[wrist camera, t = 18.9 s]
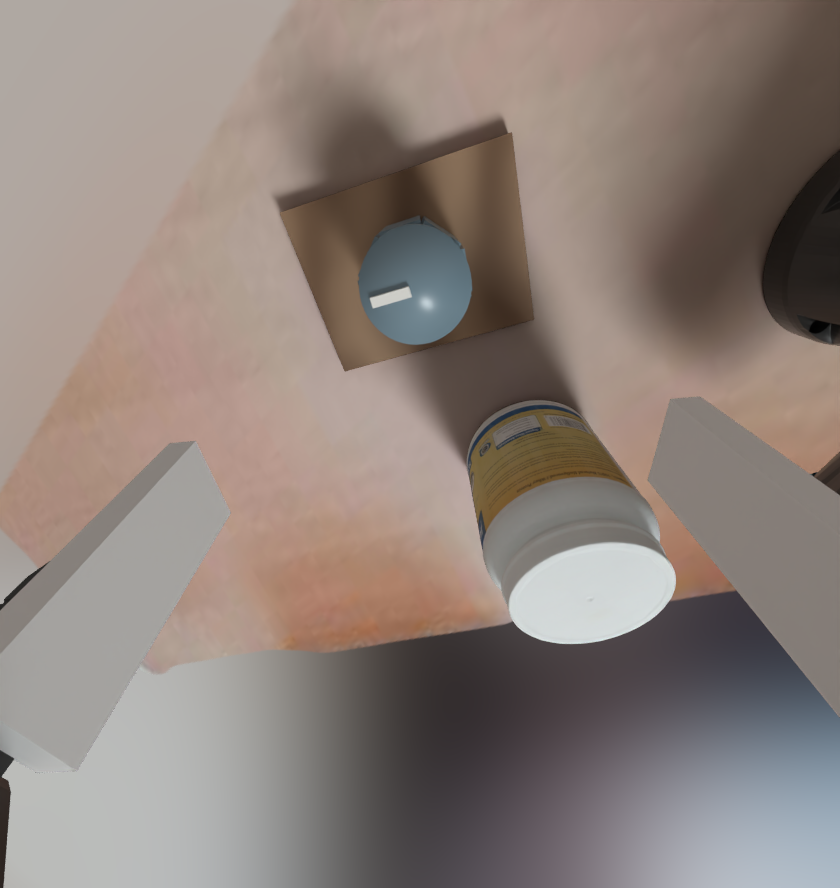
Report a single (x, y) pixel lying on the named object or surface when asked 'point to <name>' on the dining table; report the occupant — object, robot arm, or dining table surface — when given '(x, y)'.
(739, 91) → the dining table surface
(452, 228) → the stud board
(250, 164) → the dining table surface
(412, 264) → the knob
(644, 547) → the supplement tub
